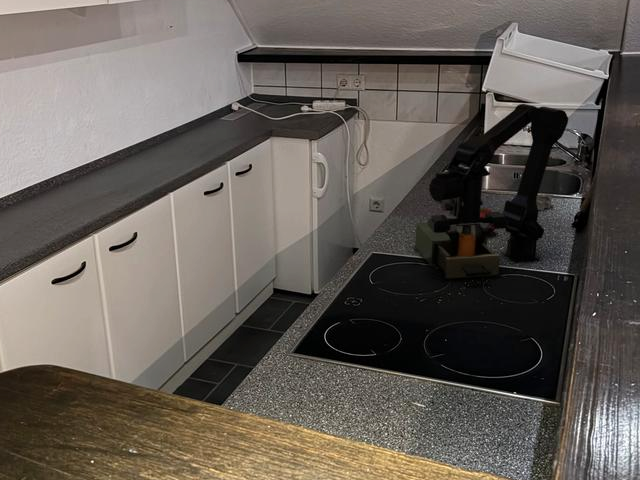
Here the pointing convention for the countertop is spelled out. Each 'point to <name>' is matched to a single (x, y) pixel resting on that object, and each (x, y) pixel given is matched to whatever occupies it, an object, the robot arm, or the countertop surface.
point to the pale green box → (433, 241)
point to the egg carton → (543, 201)
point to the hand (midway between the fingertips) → (465, 254)
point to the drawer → (466, 262)
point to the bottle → (466, 242)
